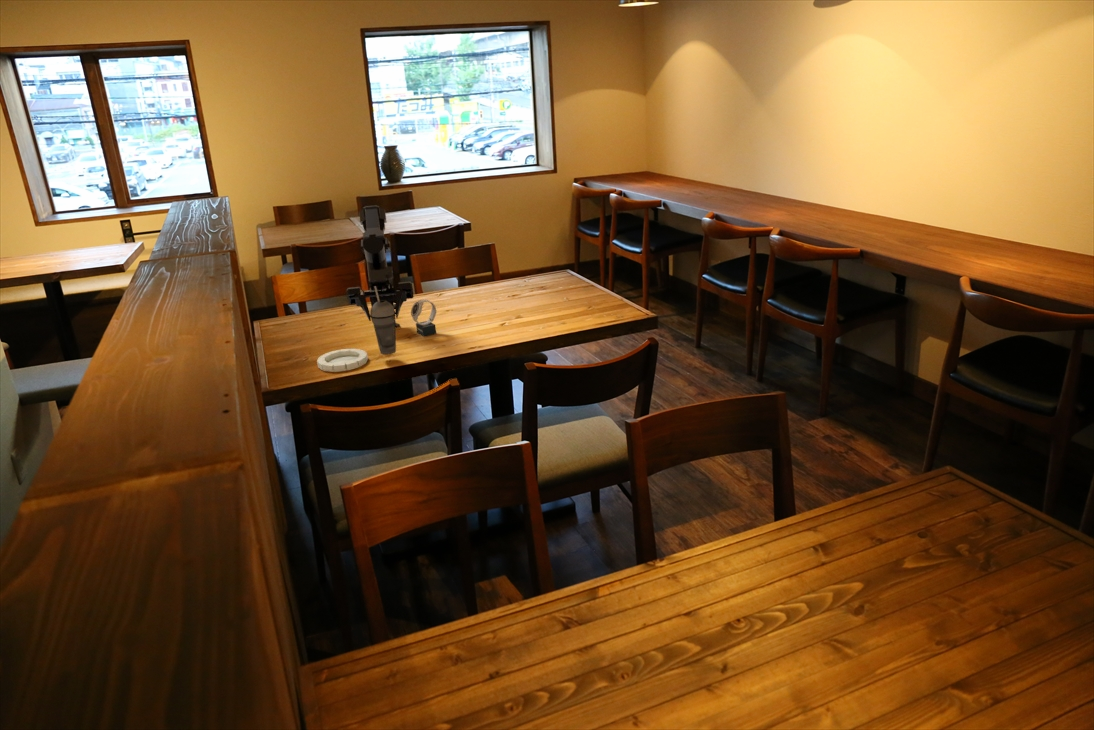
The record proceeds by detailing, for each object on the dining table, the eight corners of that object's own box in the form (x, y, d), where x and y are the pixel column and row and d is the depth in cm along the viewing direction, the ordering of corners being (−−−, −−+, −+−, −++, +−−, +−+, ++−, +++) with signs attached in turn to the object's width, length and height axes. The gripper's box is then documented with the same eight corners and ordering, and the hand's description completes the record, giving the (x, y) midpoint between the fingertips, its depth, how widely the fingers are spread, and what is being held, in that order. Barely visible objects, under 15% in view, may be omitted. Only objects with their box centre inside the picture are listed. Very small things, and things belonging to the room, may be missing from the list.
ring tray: (311, 362, 219) (310, 357, 218) (355, 350, 226) (354, 345, 226) (329, 375, 208) (328, 369, 208) (375, 362, 216) (374, 356, 215)
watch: (411, 333, 239) (407, 301, 235) (434, 328, 243) (430, 296, 239) (418, 338, 235) (414, 305, 231) (441, 332, 239) (437, 300, 235)
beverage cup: (395, 356, 212) (385, 289, 205) (371, 356, 214) (361, 289, 207) (404, 347, 219) (395, 282, 212) (381, 347, 221) (372, 282, 213)
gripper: (341, 260, 208) (346, 309, 202) (408, 254, 212) (414, 301, 206) (346, 280, 218) (351, 327, 212) (410, 274, 222) (416, 320, 216)
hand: (383, 318), depth 211 cm, fingers closed on beverage cup, 7 cm apart
